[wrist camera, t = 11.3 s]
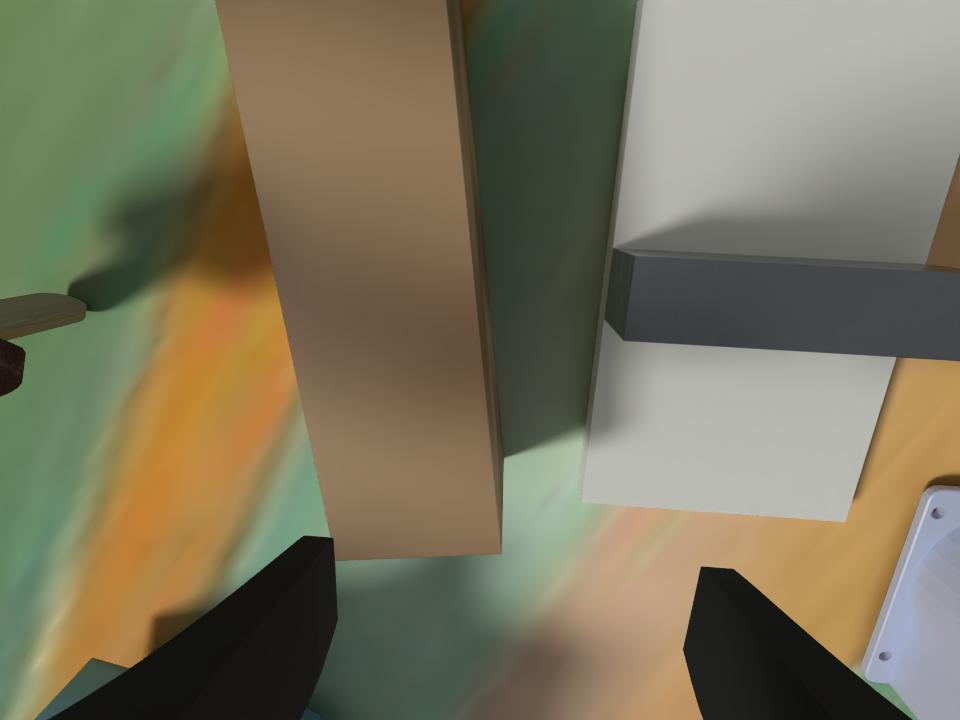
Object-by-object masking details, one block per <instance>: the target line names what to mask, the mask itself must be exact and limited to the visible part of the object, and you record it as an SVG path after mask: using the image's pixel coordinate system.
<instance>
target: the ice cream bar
mask: <svg viewBox="0 0 960 720" xmlns="http://www.w3.org/2000/svg"><path fill="white" fill-rule="evenodd" d="M86 309H87V306H86V304H85V303H84V302H83V301H81V300H79V299H77V298H74V297H71V296H67V295H62V294H55V293H36V294H30V295H24V296H18V297H13V298H7V299H1V300H0V396H3V395H5V394H8V393H10V392H12V391H13V390H15V389H17V388H18V387H19V386H20V384H21V383H22V378H23V370H24V362H25V354H26V352H25V351H24V350H23V348H22V347H19V346H17V345H15V344H13V343H10V342H8V341H7V340H11V339H15V338H18V337H22V336H26V335H30V334H34V333H38V332H42V331H46V330H49V329H53V328H57V327H61V326H65V325H69V324H73V323H76V322H80V321H82V320H84V318H85V316H86Z"/></svg>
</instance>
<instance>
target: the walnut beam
mask: <svg viewBox="0 0 960 720" xmlns="http://www.w3.org/2000/svg"><path fill="white" fill-rule="evenodd" d="M215 2H216V7H217V12H218V16H219V21H220V26H221V30H222V35H223V40H224V44H225V49H226V53H227V58H228V63H229V67H230V72H231V77H232V81H233V86H234V91H235V95H236V100H237V105H238V109H239V114H240V118H241V123H242V128H243V132H244V137H245V142H246V146H247V151H248V156H249V160H250V165H251V170H252V174H253V179H254V183H255V188H256V193H257V197H258V202H259V207H260V211H261V216H262V221H263V225H264V230H265V235H266V239H267V244H268V248H269V253H270V258H271V262H272V267H273V272H274V276H275V281H276V286H277V290H278V295H279V300H280V304H281V309H282V313H283V318H284V323H285V327H286V332H287V337H288V341H289V346H290V351H291V355H292V360H293V365H294V369H295V374H296V378H297V383H298V388H299V392H300V397H301V402H302V406H303V411H304V416H305V420H306V425H307V430H308V434H309V439H310V443H311V448H312V453H313V457H314V462H315V467H316V471H317V476H318V481H319V485H320V490H321V494H322V499H323V504H324V508H325V513H326V518H327V522H328V527H329V532H330V536H331V538H334V553H335V559H336V561H347V560H370V559H394V558H417V557H441V556H464V555H488V554H501V550H502V509H503V469H504V456H503V445H502V434H501V423H500V412H499V401H498V391H497V380H496V369H495V358H494V347H493V336H492V326H491V315H490V304H489V293H488V282H487V271H486V261H485V250H484V239H483V228H482V217H481V206H480V196H479V185H478V174H477V163H476V152H475V141H474V131H473V120H472V109H471V98H470V87H469V76H468V66H467V55H466V44H465V33H464V22H463V11H462V1H461V0H215Z"/></svg>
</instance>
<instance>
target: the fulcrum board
mask: <svg viewBox="0 0 960 720" xmlns="http://www.w3.org/2000/svg"><path fill="white" fill-rule="evenodd" d="M959 155H960V0H638V1H637V4H636V12H635V20H634V28H633V37H632V45H631V53H630V62H629V70H628V78H627V87H626V95H625V103H624V111H623V120H622V128H621V136H620V145H619V153H618V161H617V169H616V178H615V186H614V194H613V203H612V211H611V219H610V227H609V236H608V244H607V252H606V261H605V269H604V277H603V286H602V294H601V302H600V310H599V319H598V327H597V335H596V344H595V352H594V360H593V368H592V377H591V385H590V393H589V402H588V410H587V418H586V426H585V435H584V443H583V451H582V460H581V468H580V476H579V485H578V491H579V495H580V499H581V503H594V504H607V505H621V506H635V507H648V508H662V509H675V510H689V511H703V512H716V513H730V514H744V515H757V516H771V517H784V518H798V519H812V520H825V521H839V522H846V519H847V515H848V512H849V509H850V506H851V503H852V499H853V496H854V493H855V490H856V486H857V483H858V480H859V477H860V474H861V470H862V467H863V464H864V461H865V457H866V454H867V451H868V448H869V445H870V441H871V438H872V435H873V432H874V428H875V425H876V422H877V419H878V416H879V412H880V409H881V406H882V403H883V399H884V396H885V393H886V390H887V387H888V383H889V380H890V377H891V374H892V370H893V367H894V364H895V361H896V358H897V357H901V358H917V359H934V360H951V361H960V269H959V268H951V267H943V266H936V265H928V264H926V261H927V258H928V255H929V251H930V248H931V245H932V242H933V238H934V235H935V232H936V229H937V226H938V222H939V219H940V216H941V213H942V209H943V206H944V203H945V200H946V197H947V193H948V190H949V187H950V184H951V180H952V177H953V174H954V171H955V168H956V164H957V161H958V158H959Z"/></svg>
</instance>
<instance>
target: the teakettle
mask: <svg viewBox="0 0 960 720" xmlns="http://www.w3.org/2000/svg"><path fill="white" fill-rule="evenodd" d="M128 669H129V668H126V667H122V666H119V665H116V664H112V663H109V662H106V661H102V660H99V659H95V658H92V659H91V660H90V661H89V662H88V663H87V664H86V665H85V666H84V667H83V668H82V669H81V670H80V671H79V672H78V673H77V674H76V676H75V677H74V678H73V679H72V680H71V681H70V682H69V683H68V684H67V685H66V686H65V687H64V688H63V689H62V691H61V692H60V693H59V694H58V695H57V696H56V697H55V698H54V699H53V700H52V701H51V702H50V703H49V704H48V706H47V707H46V708H45V709H44V710H43V711H42V712H41V713H40V714H39V715H38V716H37V717H36V718H35V719H34V720H47V719H49V718H51V717H53V716H54V715H56V714H58V713H60V712H61V711H63V710H65V709H66V708H68V707H70V706H71V705H73V704H75V703H76V702H78V701H80V700H81V699H83V698H84V697H86V696H88V695H89V694H91V693H92V692H94V691H95V690H97V689H99V688H100V687H102V686H103V685H105V684H106V683H108V682H110V681H111V680H113V679H114V678H116V677H117V676H119V675H121V674H122V673H124V672H125V671H127V670H128ZM301 720H323V719H322V718H321V717H320V716H319V715H317V714H316V713H315V712H313V711H311V710H309V709H305V711H304V713H303V716H302V718H301Z"/></svg>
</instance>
